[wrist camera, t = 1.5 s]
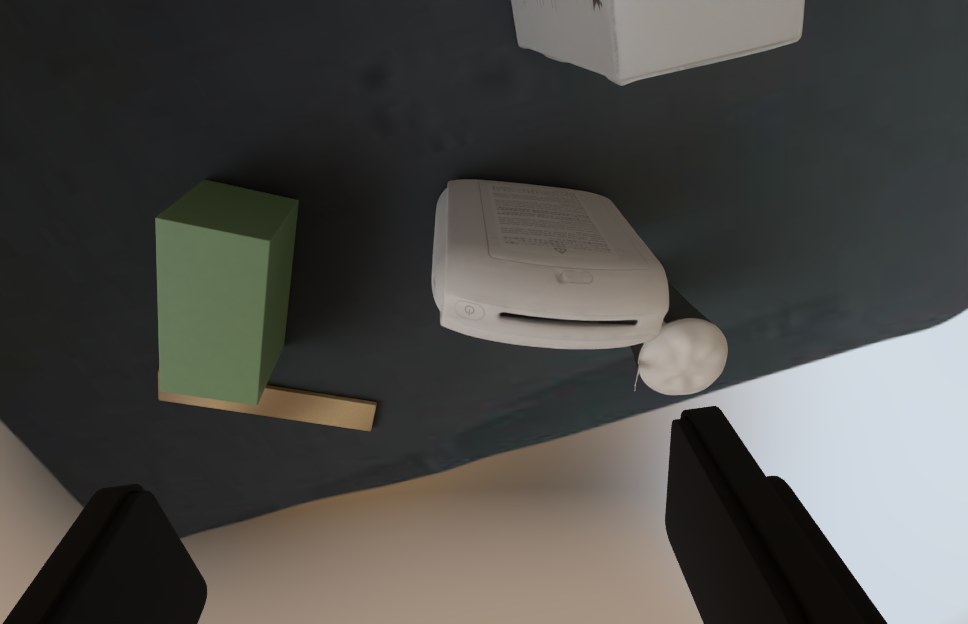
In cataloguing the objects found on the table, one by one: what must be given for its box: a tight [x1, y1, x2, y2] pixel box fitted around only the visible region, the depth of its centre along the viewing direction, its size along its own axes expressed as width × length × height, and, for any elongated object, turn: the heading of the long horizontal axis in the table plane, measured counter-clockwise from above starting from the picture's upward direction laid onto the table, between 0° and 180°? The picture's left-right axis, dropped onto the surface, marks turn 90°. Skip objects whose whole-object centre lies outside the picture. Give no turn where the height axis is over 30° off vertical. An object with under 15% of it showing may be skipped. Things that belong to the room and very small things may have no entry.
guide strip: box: [158, 369, 377, 431], centre depth 37 cm, size 14×2×1 cm, turn 75°
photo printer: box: [432, 179, 669, 349], centre depth 27 cm, size 10×4×12 cm, turn 83°
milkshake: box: [631, 281, 728, 395], centre depth 31 cm, size 4×5×10 cm
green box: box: [155, 180, 299, 406], centre depth 30 cm, size 5×10×6 cm, turn 165°
